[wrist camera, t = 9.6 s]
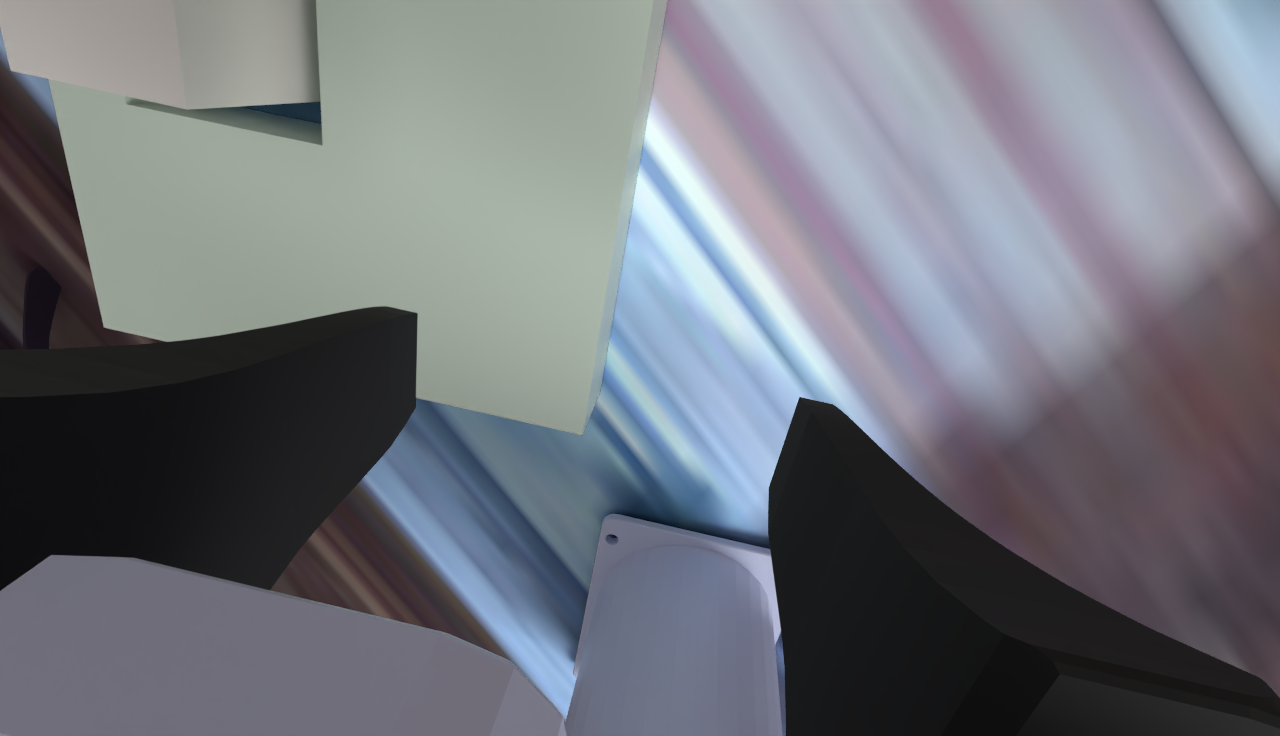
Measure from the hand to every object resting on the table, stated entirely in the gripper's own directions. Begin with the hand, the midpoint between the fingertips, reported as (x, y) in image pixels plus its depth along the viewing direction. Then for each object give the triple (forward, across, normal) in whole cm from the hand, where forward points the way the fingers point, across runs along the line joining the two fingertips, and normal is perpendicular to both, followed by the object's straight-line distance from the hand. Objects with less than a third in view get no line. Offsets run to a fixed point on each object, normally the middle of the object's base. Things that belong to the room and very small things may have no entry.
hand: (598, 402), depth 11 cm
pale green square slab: (+9, +9, -3) cm, 13 cm away
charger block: (+10, +12, -5) cm, 16 cm away
